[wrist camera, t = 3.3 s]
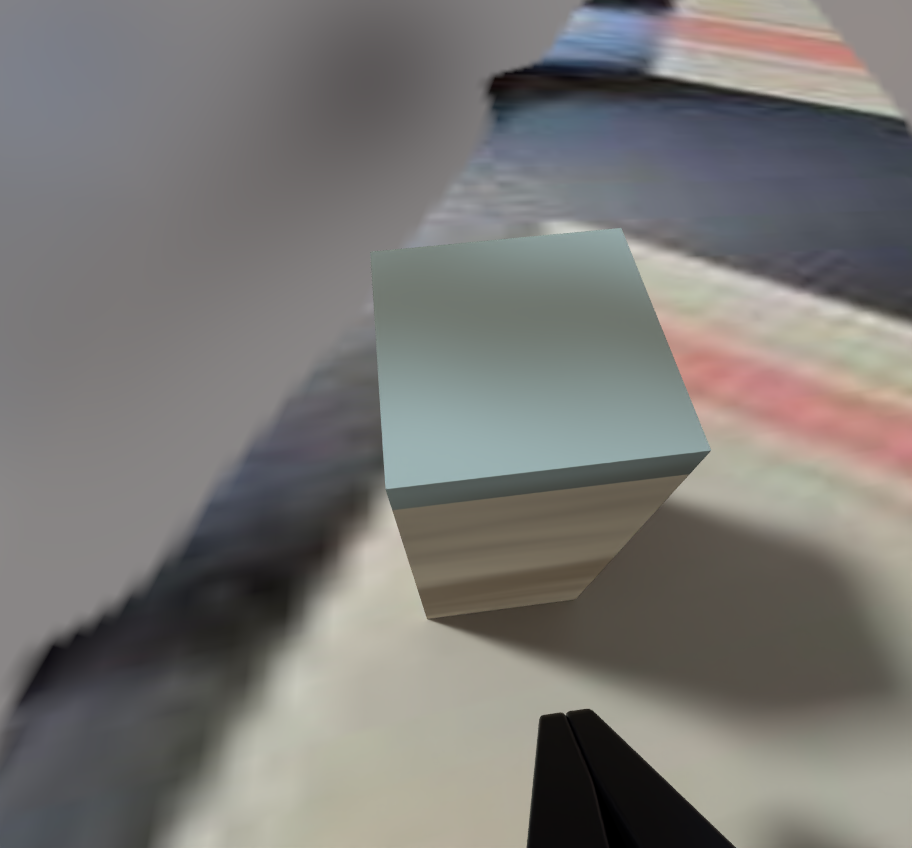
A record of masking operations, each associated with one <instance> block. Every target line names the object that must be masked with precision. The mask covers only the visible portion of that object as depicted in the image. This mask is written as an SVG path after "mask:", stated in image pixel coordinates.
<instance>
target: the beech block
mask: <svg viewBox="0 0 912 848" xmlns="http://www.w3.org/2000/svg"><path fill="white" fill-rule="evenodd" d="M370 254H371V270H372V285H373V301H374V316H375V332H376V347H377V363H378V378H379V393H380V409H381V424H382V440H383V455H384V470H385V486H386V492H387V495H388V498H389V501H390V504H391V507H392V510H393V514H394V517H395V520H396V523H397V526H398V529H399V532H400V536H401V539H402V542H403V545H404V548H405V551H406V554H407V557H408V561H409V564H410V567H411V570H412V573H413V576H414V579H415V583H416V586H417V589H418V592H419V595H420V598H421V601H422V604H423V608H424V611H425V614H426V617H427V619H432V618H439V617H447V616H454V615H462V614H469V613H477V612H484V611H492V610H499V609H507V608H515V607H522V606H530V605H537V604H545V603H552V602H560V601H567V600H575V599H576V598H577V597H578V596H579V595H580V594H581V593H582V592H583V591H584V590H585V588H586V587H587V586H588V585H589V584H590V583H591V582H592V581H593V580H594V579H595V578H596V576H597V575H598V574H599V573H600V572H601V571H602V570H603V569H604V568H605V567H606V565H607V564H608V563H609V562H610V561H611V560H612V559H613V558H614V557H615V556H616V554H617V553H618V552H619V551H620V550H621V549H622V548H623V547H624V546H625V545H626V543H627V542H628V541H629V540H630V539H631V538H632V537H633V536H634V535H635V534H636V532H637V531H638V530H639V529H640V528H641V527H642V526H643V525H644V524H645V523H646V521H647V520H648V519H649V518H650V517H651V516H652V515H653V514H654V513H655V512H656V510H657V509H658V508H659V507H660V506H661V505H662V504H663V503H664V502H665V501H666V500H667V498H668V497H669V496H670V495H671V494H672V493H673V492H674V491H675V490H676V489H677V487H678V486H679V485H680V484H681V483H682V482H683V481H684V480H685V479H686V478H687V476H688V475H689V474H690V473H691V472H692V471H693V470H694V469H695V468H696V467H697V465H698V464H699V463H700V462H701V461H702V460H703V459H704V458H705V457H706V456H707V454H708V453H709V452H710V451H711V449H710V446H709V444H708V441H707V439H706V436H705V434H704V432H703V429H702V427H701V424H700V422H699V419H698V417H697V414H696V412H695V409H694V407H693V404H692V402H691V399H690V397H689V394H688V392H687V390H686V387H685V385H684V382H683V380H682V377H681V375H680V372H679V370H678V367H677V365H676V362H675V360H674V357H673V355H672V353H671V350H670V348H669V345H668V343H667V340H666V338H665V335H664V333H663V330H662V328H661V325H660V323H659V320H658V318H657V315H656V313H655V311H654V308H653V306H652V303H651V301H650V298H649V296H648V293H647V291H646V288H645V286H644V283H643V281H642V278H641V276H640V273H639V271H638V269H637V266H636V264H635V261H634V259H633V256H632V254H631V251H630V249H629V246H628V244H627V241H626V239H625V236H624V234H623V232H622V229H621V228H617V229H606V230H596V231H585V232H575V233H564V234H554V235H543V236H533V237H522V238H512V239H501V240H490V241H480V242H469V243H459V244H448V245H438V246H427V247H417V248H406V249H395V250H386V251H375V252H370Z"/></svg>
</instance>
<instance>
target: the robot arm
mask: <svg viewBox="0 0 912 848" xmlns="http://www.w3.org/2000/svg"><path fill="white" fill-rule="evenodd" d="M527 848H736V847H735V846H734V845H733V844H732V843H731V842H730V841H728V840H727V839H726V838H725V837H724V836H723V835H722V834H721V833H720V832H719V831H718V830H717V829H716V828H715V827H714V826H713V825H712V824H711V823H710V822H709V821H708V820H707V819H706V818H704V817H703V816H702V815H701V814H700V813H699V812H698V811H697V810H696V809H695V808H694V807H693V806H692V805H691V804H690V803H689V802H688V801H687V800H686V799H685V798H684V797H683V796H681V795H680V794H679V793H678V792H677V791H676V790H675V789H674V788H673V787H672V786H671V785H670V784H669V783H668V782H667V781H666V780H665V779H664V778H663V777H662V776H661V775H660V774H659V773H657V772H656V771H655V770H654V769H653V768H652V767H651V766H650V765H649V764H648V763H647V762H646V761H645V760H644V759H643V758H642V757H641V756H640V755H639V754H638V753H637V752H636V751H634V750H633V749H632V748H631V747H630V746H629V745H628V744H627V743H626V742H625V741H624V740H623V739H622V738H621V737H620V736H619V735H618V734H617V733H616V732H615V731H614V730H613V729H612V728H610V727H609V726H608V725H607V724H606V723H605V722H604V721H603V720H602V719H601V718H600V717H599V716H598V715H597V714H596V713H595V712H594V711H592V710H590V709H582V710H575V711H569V712H567V713H566V716H565V714H563V713H554V714H547V715H542V716H541V717H540V719H539V727H538V737H537V747H536V758H535V768H534V778H533V788H532V798H531V808H530V818H529V828H528V839H527Z"/></svg>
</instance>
